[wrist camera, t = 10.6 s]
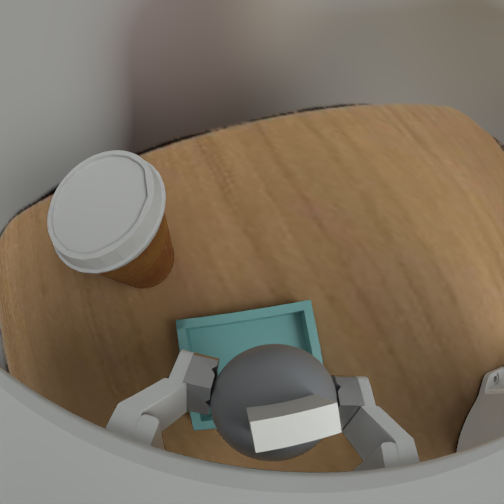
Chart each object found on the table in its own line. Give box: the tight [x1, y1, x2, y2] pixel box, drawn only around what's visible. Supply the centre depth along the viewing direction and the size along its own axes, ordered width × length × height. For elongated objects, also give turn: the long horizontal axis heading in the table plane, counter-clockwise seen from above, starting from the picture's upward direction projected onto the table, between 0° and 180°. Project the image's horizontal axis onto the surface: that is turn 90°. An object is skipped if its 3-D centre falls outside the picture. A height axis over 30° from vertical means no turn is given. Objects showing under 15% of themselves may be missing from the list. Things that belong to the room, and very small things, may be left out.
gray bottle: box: [211, 344, 342, 461], centre depth 10 cm, size 4×4×10 cm
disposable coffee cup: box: [47, 150, 174, 288], centre depth 22 cm, size 10×10×12 cm
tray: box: [176, 300, 323, 430], centre depth 23 cm, size 12×10×2 cm
